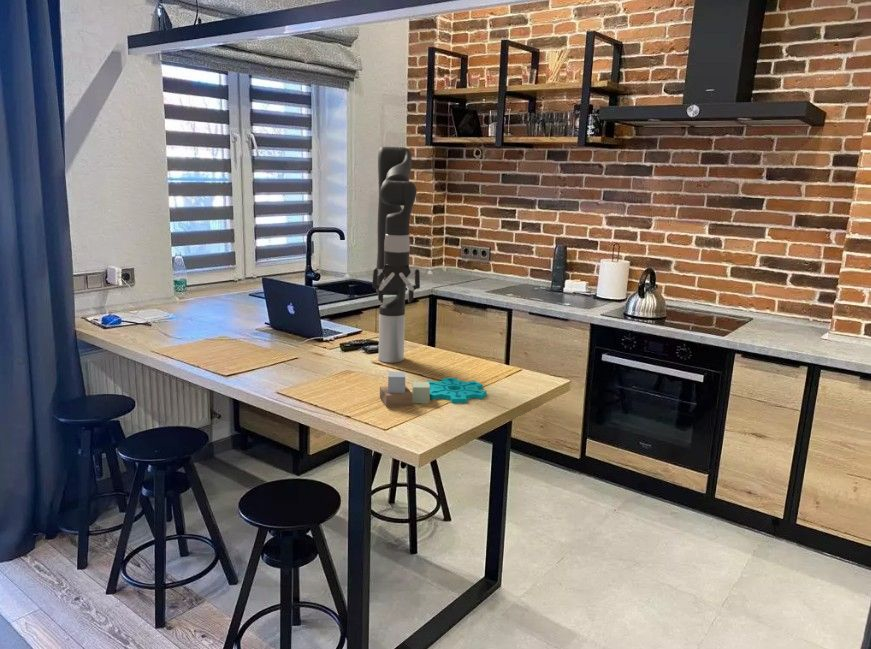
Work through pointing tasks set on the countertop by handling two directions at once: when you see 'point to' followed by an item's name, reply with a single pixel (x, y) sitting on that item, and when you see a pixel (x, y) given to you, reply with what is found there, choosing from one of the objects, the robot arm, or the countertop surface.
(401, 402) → the walnut base
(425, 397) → the sage block
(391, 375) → the slate cube
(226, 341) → the countertop surface
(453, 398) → the decorative ornament
